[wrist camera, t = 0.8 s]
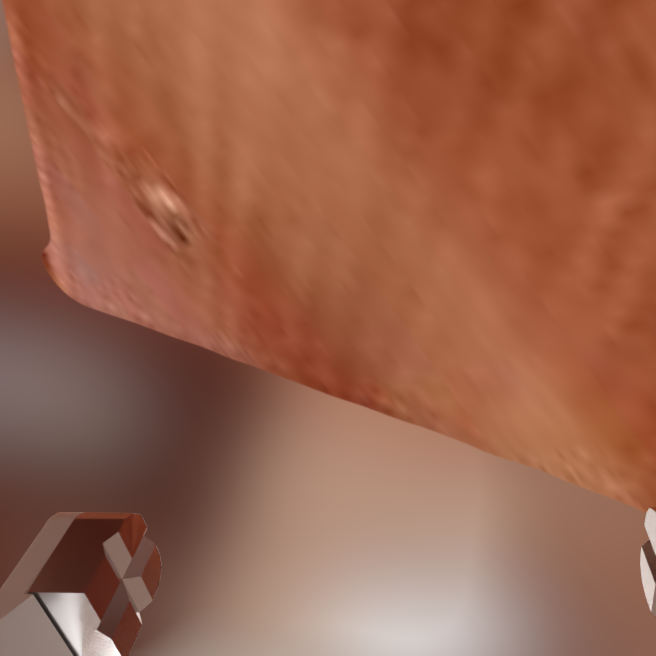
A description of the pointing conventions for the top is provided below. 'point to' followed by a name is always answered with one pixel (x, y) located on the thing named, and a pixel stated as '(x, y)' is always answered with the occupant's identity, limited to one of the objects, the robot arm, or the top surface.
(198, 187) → the top surface
